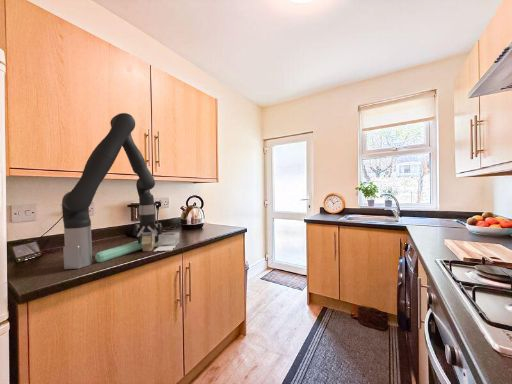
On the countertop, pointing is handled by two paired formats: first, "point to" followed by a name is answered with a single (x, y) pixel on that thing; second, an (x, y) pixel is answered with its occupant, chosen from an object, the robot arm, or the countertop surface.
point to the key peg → (147, 241)
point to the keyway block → (167, 239)
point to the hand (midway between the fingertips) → (148, 242)
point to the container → (118, 251)
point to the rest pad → (164, 248)
